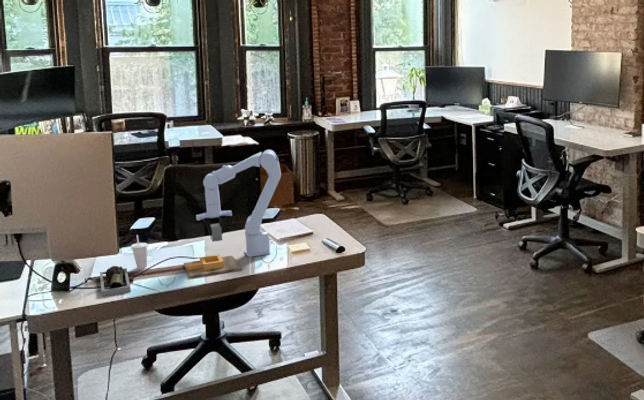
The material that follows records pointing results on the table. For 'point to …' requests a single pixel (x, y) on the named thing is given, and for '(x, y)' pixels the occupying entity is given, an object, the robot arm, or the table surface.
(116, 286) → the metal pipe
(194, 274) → the base plate
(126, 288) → the pipe rest
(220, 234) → the grey block
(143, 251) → the smoothie
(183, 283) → the table surface
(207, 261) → the bracket collar
